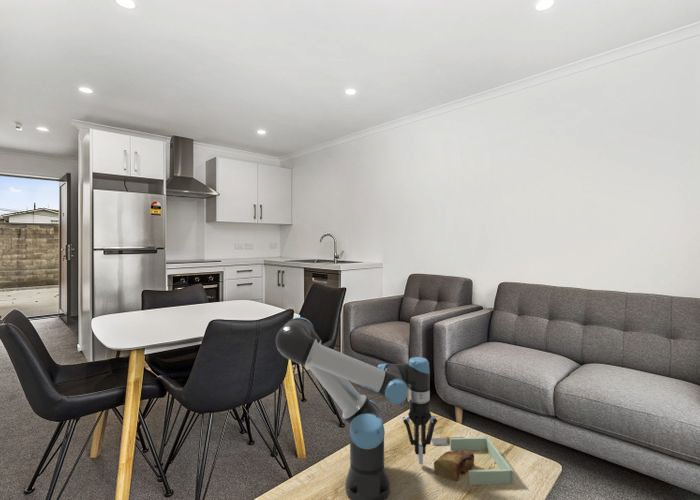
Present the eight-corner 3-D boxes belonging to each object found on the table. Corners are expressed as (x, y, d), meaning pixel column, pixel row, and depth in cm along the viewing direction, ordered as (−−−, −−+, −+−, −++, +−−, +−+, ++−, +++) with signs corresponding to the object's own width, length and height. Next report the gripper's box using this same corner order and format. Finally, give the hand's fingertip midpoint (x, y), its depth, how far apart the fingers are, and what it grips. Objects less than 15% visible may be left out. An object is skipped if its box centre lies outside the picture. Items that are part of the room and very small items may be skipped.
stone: (453, 484, 126) (452, 469, 126) (431, 471, 133) (431, 457, 133) (476, 467, 136) (476, 453, 136) (455, 456, 143) (455, 443, 143)
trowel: (433, 445, 150) (433, 441, 150) (431, 439, 154) (431, 436, 154) (467, 444, 150) (467, 440, 150) (463, 438, 155) (463, 435, 155)
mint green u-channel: (469, 484, 125) (469, 471, 125) (450, 448, 147) (450, 438, 147) (513, 483, 126) (513, 470, 126) (487, 448, 148) (487, 437, 148)
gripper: (404, 404, 132) (404, 468, 132) (439, 403, 132) (440, 467, 132) (400, 396, 139) (401, 456, 140) (434, 395, 140) (434, 455, 140)
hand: (420, 462), depth 136 cm, fingers closed
